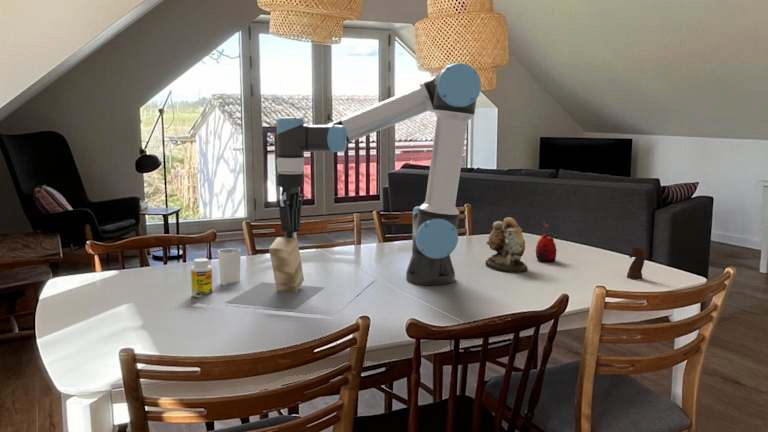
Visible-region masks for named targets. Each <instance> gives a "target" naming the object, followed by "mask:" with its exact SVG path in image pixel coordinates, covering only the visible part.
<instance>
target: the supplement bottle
mask: <svg viewBox="0 0 768 432" xmlns="http://www.w3.org/2000/svg"><path fill="white" fill-rule="evenodd" d="M190 274H191V275H190V276H191V277H190V279H191V295H192V296H193V297H195V298H202V297H204V296H207V295H210V294H213V267H212V266H211V265H210V261H209V258H206V257H202V258H195V259H194V260H193V266H192V267H190Z"/></svg>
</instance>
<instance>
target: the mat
mask: <svg viewBox="0 0 768 432" xmlns="http://www.w3.org/2000/svg"><path fill="white" fill-rule="evenodd" d="M325 288H326V287H324V286H315V285H313V286H311V285H302V284H301V286H300V287H299V289H298V290H297V292H290V291H278V290H277V288H276V283H275V282H264V281H262V282H259V283H258V284H256V285H255V286H253V287H251V288H249V289H247V290H246V291H243V292H242V293H240V294H238V295H236V296H234V297H233V298H231V299H229V300H227V301H225V304H232V305H234V307H238V306H236V305H243V306H256V307H255V309H258V310H259V308H257V307H264V308H265V307H267V308H269V309H267V308H265V310H268V311H270V308H276V311H277V312H280V311H281V310H277V309H288V310H296V309H298V308H299V307H301V305H303V304H305V303H306V302H307V301H309V300H310V299H312V298H313V297H314V296H315V295H317V294H318V293H320V292H321V291H323V290H324V289H325ZM224 306H228V305H224ZM244 308H248V309H249V307H244ZM288 310H287V312H290V313H291V311H288Z"/></svg>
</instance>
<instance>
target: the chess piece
mask: <svg viewBox="0 0 768 432" xmlns="http://www.w3.org/2000/svg"><path fill="white" fill-rule="evenodd" d="M631 249H632V251H631V253H630V254H629V255H628V256H629V258H630V259H632V258H633V257H634V259H633V261H632V262H631V264H630V265H629V268H628V271H627V273H626V274H627V275H626V278H627V279H629V278H630V280H635V279H640V280H642V279H643V273H642V271H643V267H644V264H645V261H646V253H645V251H644V249H642V248H641V247H638V246H633V247H632V248H631Z"/></svg>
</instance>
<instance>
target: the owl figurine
mask: <svg viewBox="0 0 768 432" xmlns="http://www.w3.org/2000/svg"><path fill="white" fill-rule="evenodd" d="M492 228H493V229H492V231H491V232H490V234H489V236H488V241H486V245H488V246H489V248H490V250H492V251H495V252H496V253H495V254H492V255H491V256H490V257H489V258H487V259H486V260H485V266H486V267H488V268H489V269H492V270H495V271H498V272H503V273H512V274H518V273H525V272H527V271H528V265H527V264H525V262H523V261H522V260H521V258H522V256H523V255H524V253H525V251H526V240H525V238H524V235H523V233H522V232H523V229H522V228H521V227H520V226H519V225H518V223H517V221H516V220H515V219H514V218H513V217H512V216H511V217H505V218H504V219H502V220H501V221H500V220H497V221H494V222H493V224H492Z"/></svg>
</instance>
